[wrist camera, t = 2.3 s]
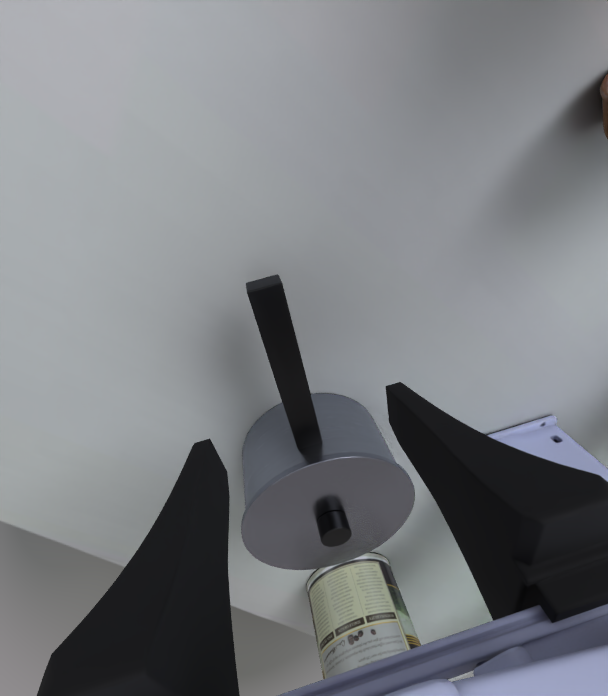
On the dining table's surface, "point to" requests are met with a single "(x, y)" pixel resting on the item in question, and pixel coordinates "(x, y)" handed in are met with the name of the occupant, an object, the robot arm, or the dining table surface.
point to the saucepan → (314, 462)
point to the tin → (605, 103)
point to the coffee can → (358, 614)
